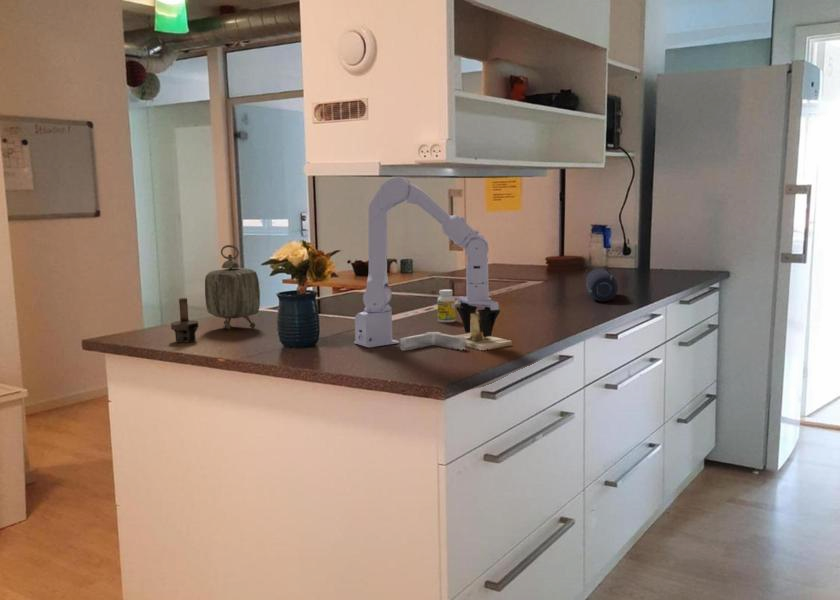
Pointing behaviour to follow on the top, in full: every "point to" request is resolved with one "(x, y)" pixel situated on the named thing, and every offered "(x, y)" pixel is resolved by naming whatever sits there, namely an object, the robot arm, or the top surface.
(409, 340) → the grey angled bracket
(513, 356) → the top surface
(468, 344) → the beige plate with hole
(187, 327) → the industrial component
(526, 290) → the top surface
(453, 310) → the supplement bottle
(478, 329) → the brass axle
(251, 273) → the tabletop clock
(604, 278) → the portable speaker
